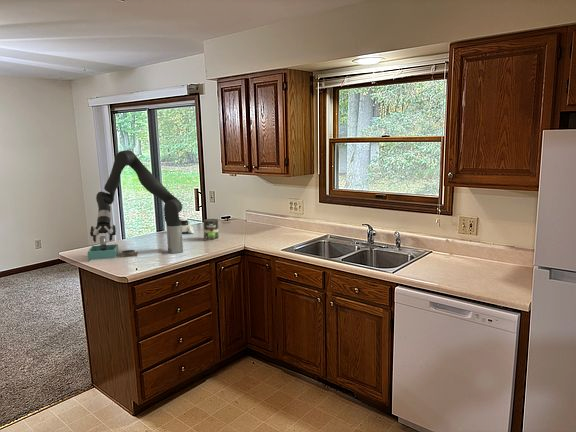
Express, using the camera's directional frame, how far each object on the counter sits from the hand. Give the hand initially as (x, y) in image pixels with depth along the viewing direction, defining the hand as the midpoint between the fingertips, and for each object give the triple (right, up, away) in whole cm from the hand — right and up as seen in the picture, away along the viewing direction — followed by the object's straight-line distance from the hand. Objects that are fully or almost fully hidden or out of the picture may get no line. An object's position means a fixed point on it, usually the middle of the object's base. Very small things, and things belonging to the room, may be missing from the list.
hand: (102, 240), depth 258 cm
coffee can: (+57, -2, +47) cm, 74 cm away
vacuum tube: (0, -9, +2) cm, 9 cm away
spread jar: (+34, +2, +69) cm, 77 cm away
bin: (0, -10, +2) cm, 10 cm away
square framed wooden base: (+14, -10, +4) cm, 18 cm away
